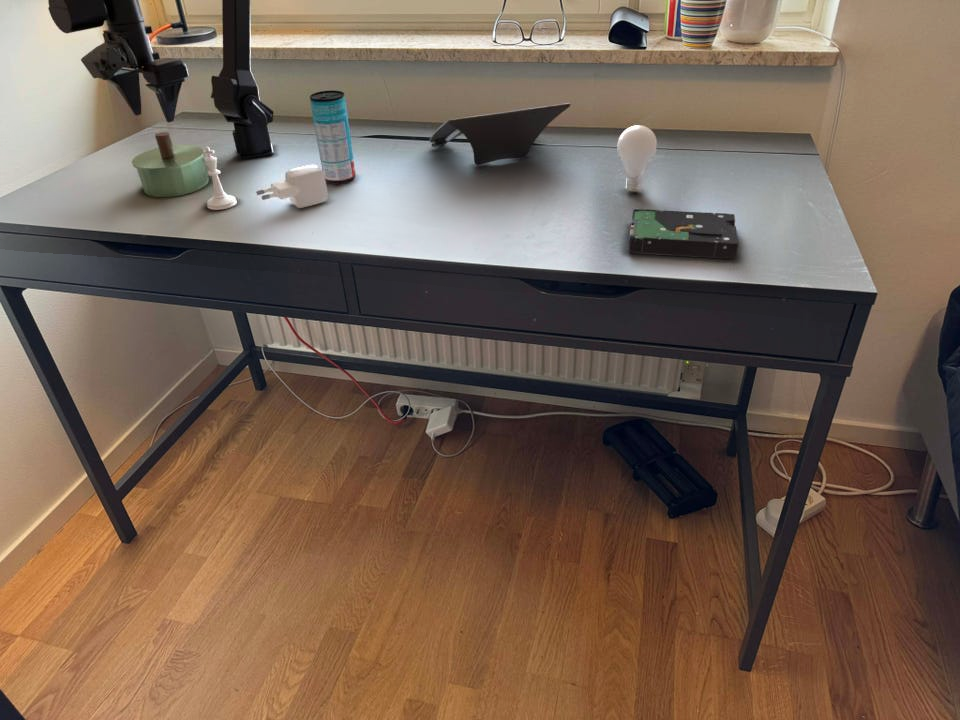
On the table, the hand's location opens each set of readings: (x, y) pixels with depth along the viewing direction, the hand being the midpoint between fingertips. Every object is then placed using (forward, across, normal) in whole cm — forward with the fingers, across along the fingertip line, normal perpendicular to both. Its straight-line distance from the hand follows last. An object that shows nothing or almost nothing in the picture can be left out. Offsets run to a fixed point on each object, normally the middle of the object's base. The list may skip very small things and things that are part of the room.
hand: (154, 118), depth 127 cm
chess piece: (+12, +16, -2) cm, 20 cm away
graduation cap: (+12, +44, +41) cm, 61 cm away
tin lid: (+7, +1, 0) cm, 7 cm away
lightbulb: (+12, +76, +36) cm, 85 cm away
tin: (+12, +1, 0) cm, 12 cm away
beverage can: (+12, +26, +17) cm, 34 cm away
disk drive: (+12, +89, +21) cm, 93 cm away
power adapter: (+12, +28, +3) cm, 31 cm away
